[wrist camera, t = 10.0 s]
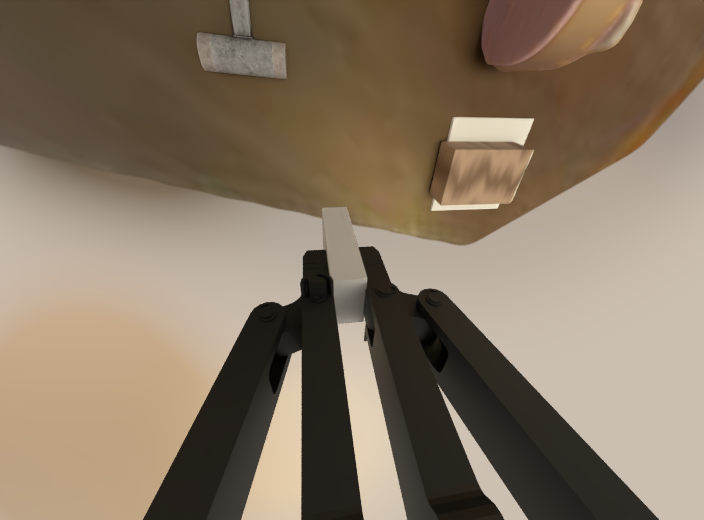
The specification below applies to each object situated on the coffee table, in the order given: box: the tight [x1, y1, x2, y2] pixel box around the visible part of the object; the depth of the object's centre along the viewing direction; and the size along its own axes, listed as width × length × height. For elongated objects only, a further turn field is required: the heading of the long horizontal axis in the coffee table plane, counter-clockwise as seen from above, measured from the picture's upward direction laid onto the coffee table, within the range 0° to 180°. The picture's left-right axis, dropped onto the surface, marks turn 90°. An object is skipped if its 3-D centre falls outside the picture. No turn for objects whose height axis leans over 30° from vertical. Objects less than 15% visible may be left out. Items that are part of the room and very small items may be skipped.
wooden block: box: [430, 141, 533, 206], centre depth 44 cm, size 9×5×13 cm
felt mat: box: [430, 117, 534, 211], centre depth 47 cm, size 16×14×1 cm
